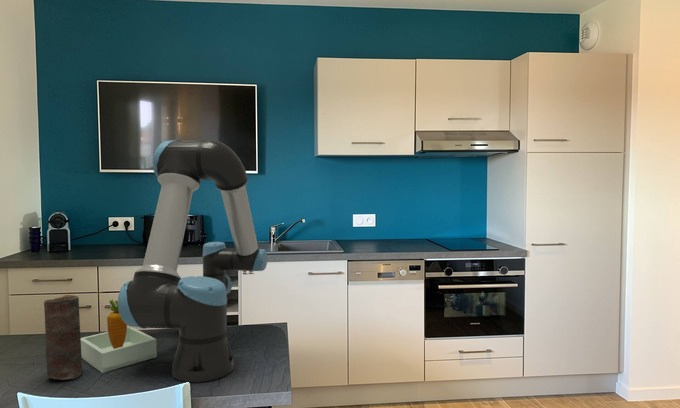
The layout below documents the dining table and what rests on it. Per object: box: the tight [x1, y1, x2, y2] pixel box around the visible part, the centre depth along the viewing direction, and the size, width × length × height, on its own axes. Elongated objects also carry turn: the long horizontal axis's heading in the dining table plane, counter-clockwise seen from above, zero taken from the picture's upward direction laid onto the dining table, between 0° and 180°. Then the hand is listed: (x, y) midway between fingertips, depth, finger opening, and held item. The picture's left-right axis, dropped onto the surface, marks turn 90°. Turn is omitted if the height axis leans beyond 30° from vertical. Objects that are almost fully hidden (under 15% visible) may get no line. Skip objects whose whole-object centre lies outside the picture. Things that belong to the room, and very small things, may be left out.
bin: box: [81, 326, 158, 374], centre depth 121 cm, size 16×14×5 cm
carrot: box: [106, 299, 128, 349], centre depth 121 cm, size 5×5×15 cm
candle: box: [43, 294, 83, 381], centre depth 108 cm, size 8×7×20 cm
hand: (135, 309), depth 126 cm, fingers open, 13 cm apart
